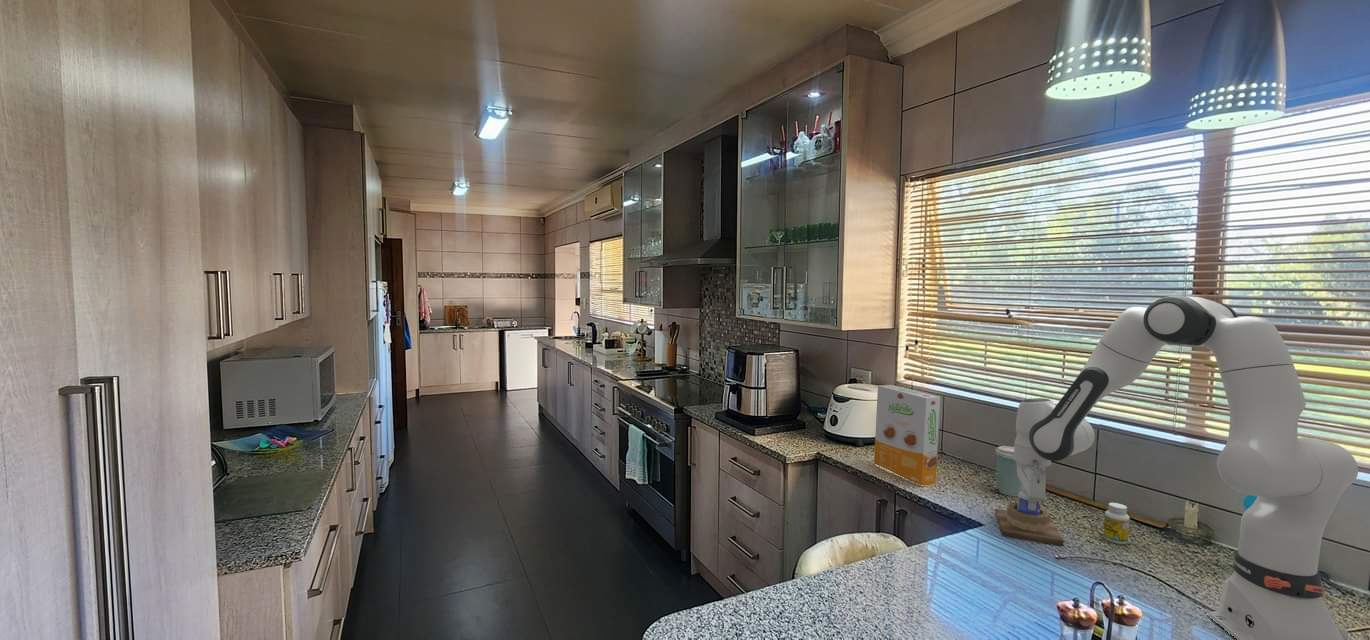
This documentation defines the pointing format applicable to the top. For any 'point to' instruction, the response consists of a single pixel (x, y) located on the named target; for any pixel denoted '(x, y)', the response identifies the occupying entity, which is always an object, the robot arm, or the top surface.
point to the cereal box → (907, 433)
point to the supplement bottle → (1116, 524)
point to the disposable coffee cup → (1007, 471)
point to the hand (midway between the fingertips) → (1029, 504)
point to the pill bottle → (1023, 503)
